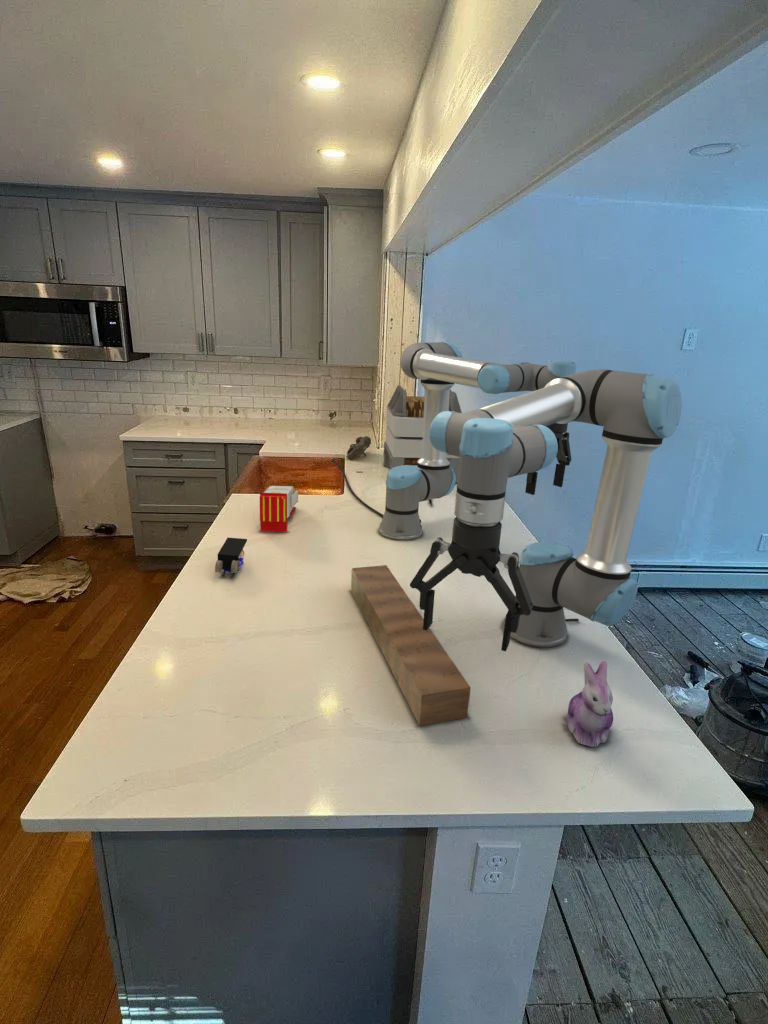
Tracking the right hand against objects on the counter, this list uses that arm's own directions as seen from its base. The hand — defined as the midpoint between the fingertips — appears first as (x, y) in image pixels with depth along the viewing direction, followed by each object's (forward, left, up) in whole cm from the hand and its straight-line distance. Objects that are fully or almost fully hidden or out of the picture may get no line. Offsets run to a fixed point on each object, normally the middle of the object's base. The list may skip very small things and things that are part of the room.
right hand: (465, 636), depth 96 cm
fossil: (-135, -164, -23) cm, 214 cm away
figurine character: (-10, -89, -23) cm, 93 cm away
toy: (-47, -115, -23) cm, 126 cm away
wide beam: (-18, -29, -23) cm, 41 cm away
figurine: (-22, +16, -23) cm, 36 cm away
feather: (-111, -95, -23) cm, 148 cm away
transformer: (-135, -122, -23) cm, 183 cm away
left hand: (-77, -27, +4) cm, 81 cm away
